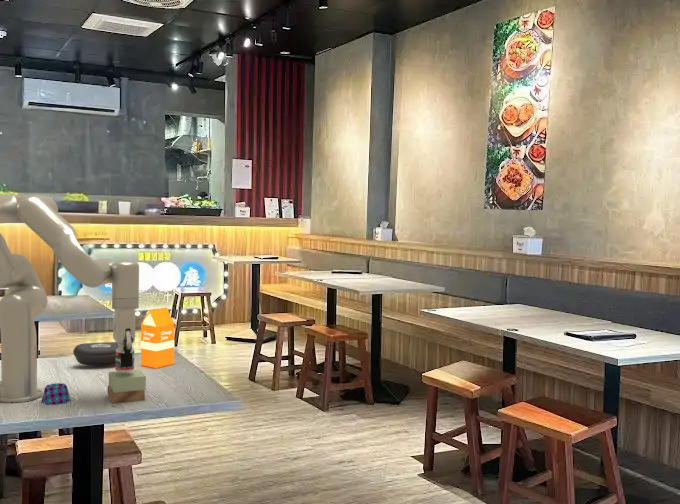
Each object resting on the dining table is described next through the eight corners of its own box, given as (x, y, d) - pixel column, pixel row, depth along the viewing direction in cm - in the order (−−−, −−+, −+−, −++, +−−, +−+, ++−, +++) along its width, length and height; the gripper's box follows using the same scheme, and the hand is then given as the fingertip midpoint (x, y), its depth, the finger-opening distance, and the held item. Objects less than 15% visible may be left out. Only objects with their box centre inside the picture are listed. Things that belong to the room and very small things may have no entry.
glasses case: (73, 369, 245) (73, 347, 244) (73, 362, 255) (73, 340, 254) (127, 366, 251) (128, 344, 251) (125, 359, 261) (125, 338, 260)
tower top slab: (113, 392, 205) (113, 379, 205) (108, 385, 213) (108, 372, 213) (145, 389, 209) (145, 376, 209) (139, 382, 217) (139, 369, 217)
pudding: (68, 395, 215) (68, 377, 215) (84, 404, 206) (84, 386, 206) (27, 402, 207) (27, 384, 206) (42, 411, 198) (42, 393, 198)
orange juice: (174, 363, 257) (174, 308, 255) (156, 368, 249) (156, 311, 248) (158, 360, 261) (159, 306, 260) (140, 364, 254) (140, 308, 252)
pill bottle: (111, 370, 209) (111, 340, 208) (124, 367, 214) (124, 338, 213) (125, 373, 206) (125, 343, 206) (137, 369, 211) (138, 340, 210)
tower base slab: (112, 407, 205) (112, 393, 204) (107, 398, 213) (107, 385, 212) (144, 403, 209) (144, 390, 208) (138, 395, 217) (138, 382, 216)
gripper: (107, 299, 214) (107, 358, 216) (116, 308, 199) (116, 372, 201) (133, 298, 218) (132, 357, 219) (144, 307, 202) (143, 370, 204)
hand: (124, 363), depth 210 cm, fingers closed on pill bottle, 5 cm apart
